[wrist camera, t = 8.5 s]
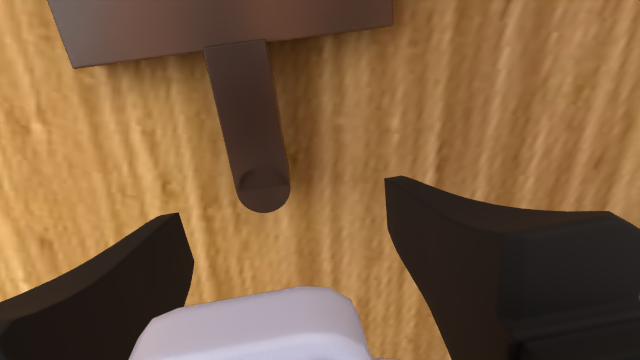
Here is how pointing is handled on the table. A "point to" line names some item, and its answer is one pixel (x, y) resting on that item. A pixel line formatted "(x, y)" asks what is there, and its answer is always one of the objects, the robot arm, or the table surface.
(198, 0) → the walnut board
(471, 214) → the robot arm
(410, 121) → the table surface
